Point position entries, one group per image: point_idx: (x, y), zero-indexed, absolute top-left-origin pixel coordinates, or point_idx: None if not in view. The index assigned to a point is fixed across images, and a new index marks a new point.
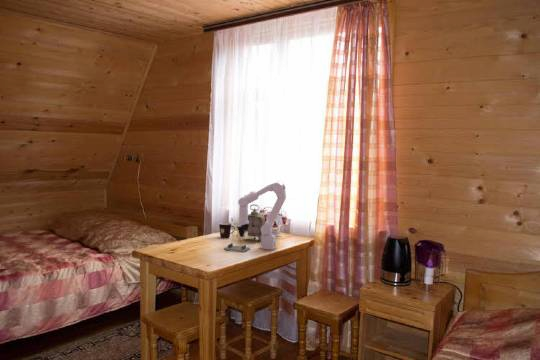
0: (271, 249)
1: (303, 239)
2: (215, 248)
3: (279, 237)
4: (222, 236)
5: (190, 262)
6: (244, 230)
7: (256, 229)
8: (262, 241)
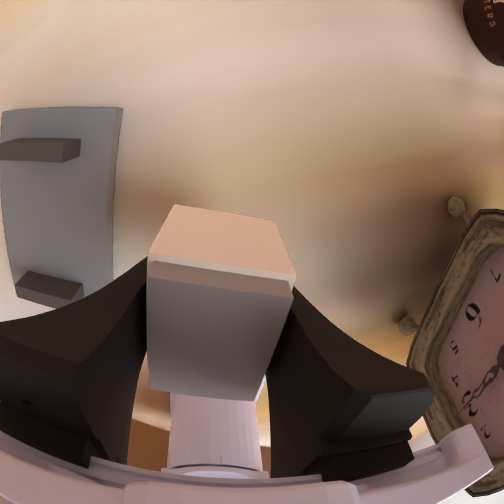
0: (170, 414)
1: (412, 431)
2: (39, 20)
3: None
4: (472, 2)
5: None
6: (244, 369)
7: (466, 363)
8: (175, 421)
